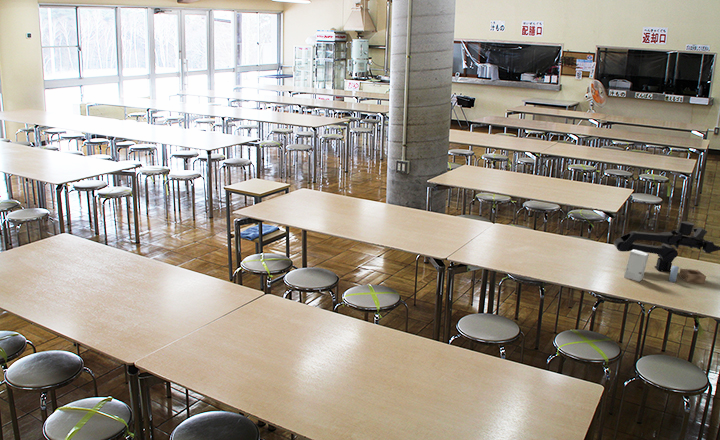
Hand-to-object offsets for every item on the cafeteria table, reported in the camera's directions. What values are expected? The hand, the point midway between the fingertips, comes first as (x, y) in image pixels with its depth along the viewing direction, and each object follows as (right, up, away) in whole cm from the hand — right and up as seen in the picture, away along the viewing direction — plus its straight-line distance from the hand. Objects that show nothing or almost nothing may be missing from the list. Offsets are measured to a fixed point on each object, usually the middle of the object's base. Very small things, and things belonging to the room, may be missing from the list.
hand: (717, 246), depth 318 cm
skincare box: (-49, -17, -7) cm, 52 cm away
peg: (-29, -18, -8) cm, 34 cm away
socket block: (-16, -17, -4) cm, 24 cm away
